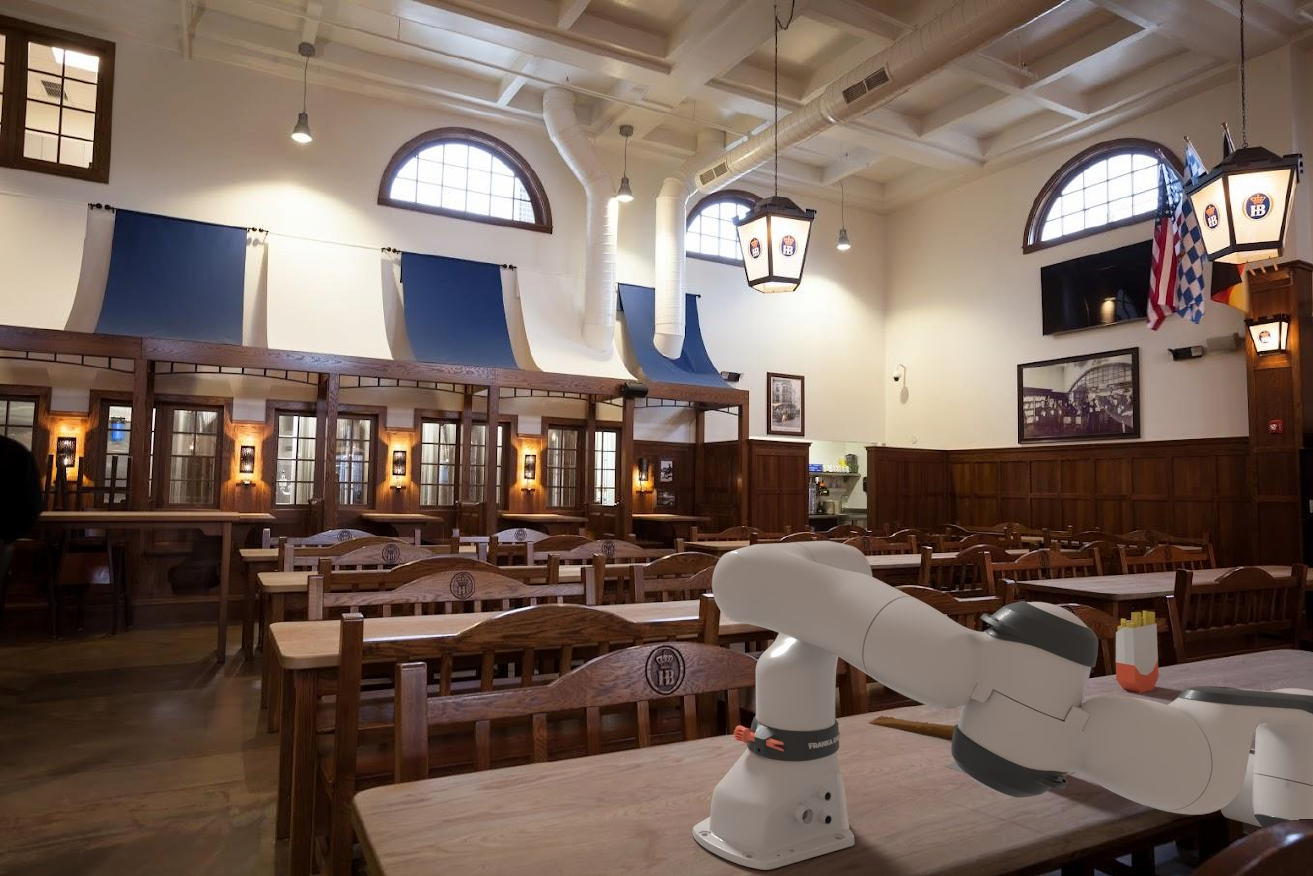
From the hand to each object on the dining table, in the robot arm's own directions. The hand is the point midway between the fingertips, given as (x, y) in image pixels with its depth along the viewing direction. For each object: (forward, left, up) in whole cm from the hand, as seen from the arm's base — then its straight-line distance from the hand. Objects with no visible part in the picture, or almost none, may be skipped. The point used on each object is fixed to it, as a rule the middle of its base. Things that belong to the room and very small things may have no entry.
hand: (1129, 759), depth 117 cm
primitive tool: (+7, +40, -7) cm, 41 cm away
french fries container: (+75, +24, -7) cm, 79 cm away
